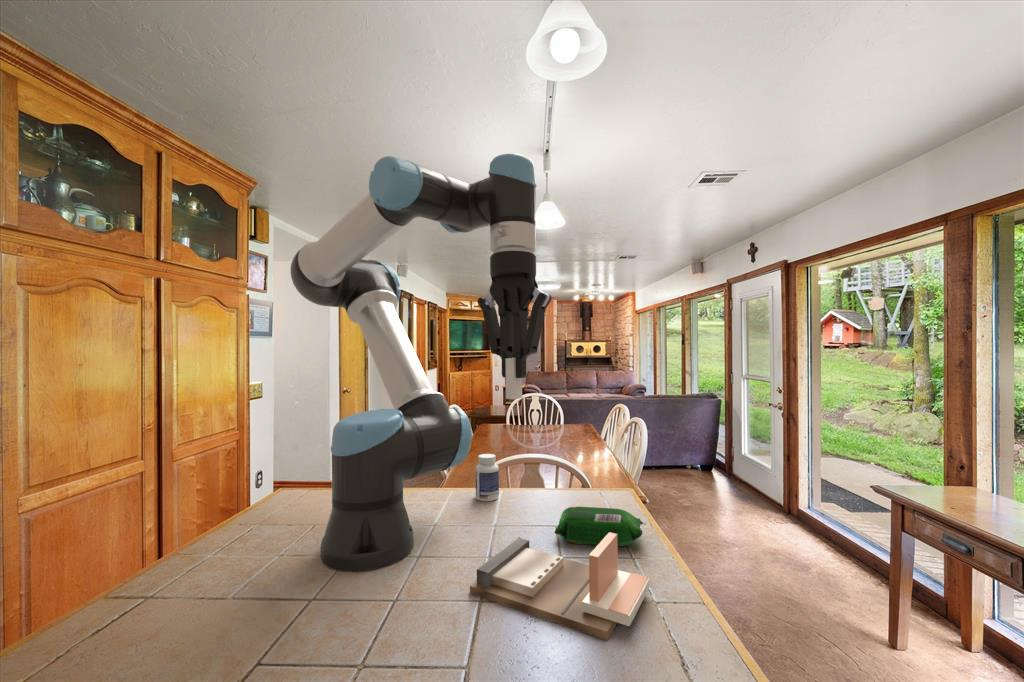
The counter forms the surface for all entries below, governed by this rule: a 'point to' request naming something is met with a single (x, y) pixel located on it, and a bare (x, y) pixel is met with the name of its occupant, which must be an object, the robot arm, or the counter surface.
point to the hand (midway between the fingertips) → (514, 398)
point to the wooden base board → (540, 587)
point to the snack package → (598, 525)
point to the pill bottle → (487, 478)
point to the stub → (613, 585)
